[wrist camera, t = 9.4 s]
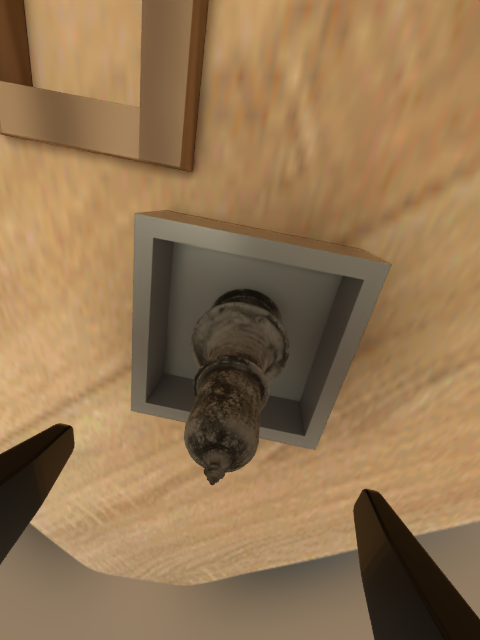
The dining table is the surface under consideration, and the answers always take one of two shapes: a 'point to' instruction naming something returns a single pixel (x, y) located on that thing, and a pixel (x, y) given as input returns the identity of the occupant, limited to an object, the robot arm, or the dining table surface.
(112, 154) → the socket block
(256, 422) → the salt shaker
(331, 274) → the bin
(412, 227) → the dining table surface
